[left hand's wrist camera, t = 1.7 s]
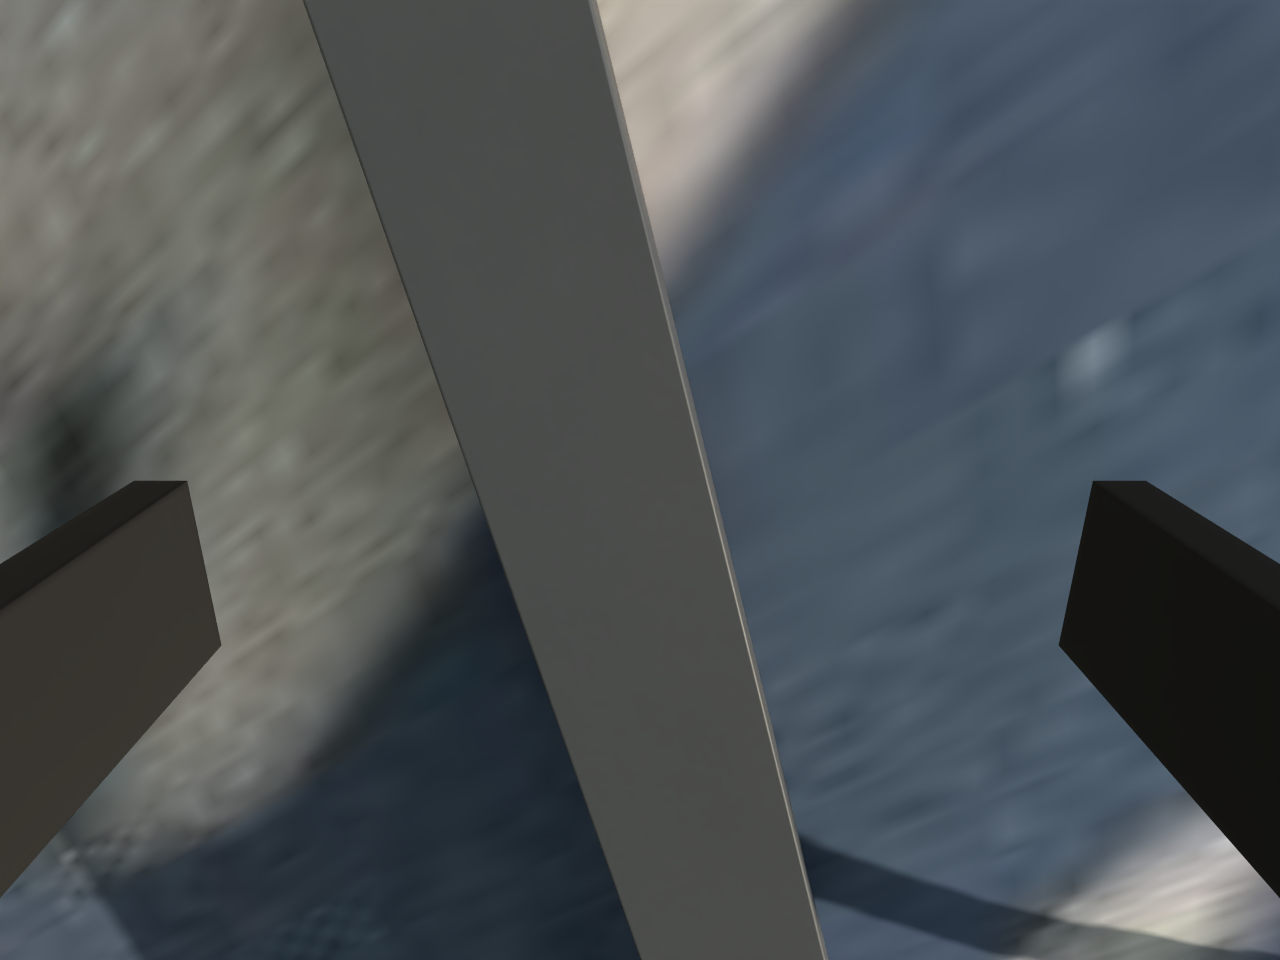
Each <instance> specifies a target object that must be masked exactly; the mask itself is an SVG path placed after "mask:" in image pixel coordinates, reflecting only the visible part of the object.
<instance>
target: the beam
mask: <svg viewBox="0 0 1280 960" xmlns="http://www.w3.org/2000/svg"><path fill="white" fill-rule="evenodd" d="M303 2H304V5H305V8H306V10H307V13H308V16H309V19H310V22H311V25H312V27H313V30H314V33H315V36H316V39H317V42H318V44H319V47H320V50H321V53H322V56H323V59H324V62H325V64H326V67H327V70H328V73H329V76H330V79H331V81H332V84H333V87H334V90H335V93H336V96H337V98H338V101H339V104H340V107H341V110H342V113H343V115H344V118H345V121H346V124H347V127H348V130H349V133H350V135H351V138H352V141H353V144H354V147H355V150H356V152H357V155H358V158H359V161H360V164H361V167H362V169H363V172H364V175H365V178H366V181H367V184H368V186H369V189H370V192H371V195H372V198H373V201H374V204H375V206H376V209H377V212H378V215H379V218H380V221H381V223H382V226H383V229H384V232H385V235H386V238H387V240H388V243H389V246H390V249H391V252H392V255H393V257H394V260H395V263H396V266H397V269H398V272H399V275H400V277H401V280H402V283H403V286H404V289H405V292H406V294H407V297H408V300H409V303H410V306H411V309H412V311H413V314H414V317H415V320H416V323H417V326H418V328H419V331H420V334H421V337H422V340H423V343H424V346H425V348H426V351H427V354H428V357H429V360H430V363H431V365H432V368H433V371H434V374H435V377H436V380H437V382H438V385H439V388H440V391H441V394H442V397H443V399H444V402H445V405H446V408H447V411H448V414H449V417H450V419H451V422H452V425H453V428H454V431H455V434H456V436H457V439H458V442H459V445H460V448H461V451H462V453H463V456H464V459H465V462H466V465H467V468H468V470H469V473H470V476H471V479H472V482H473V485H474V487H475V490H476V493H477V496H478V499H479V502H480V505H481V507H482V510H483V513H484V516H485V519H486V522H487V524H488V527H489V530H490V533H491V536H492V539H493V541H494V544H495V547H496V550H497V553H498V556H499V558H500V561H501V564H502V567H503V570H504V573H505V576H506V578H507V581H508V584H509V587H510V590H511V593H512V595H513V598H514V601H515V604H516V607H517V610H518V612H519V615H520V618H521V621H522V624H523V627H524V629H525V632H526V635H527V638H528V641H529V644H530V647H531V649H532V652H533V655H534V658H535V661H536V664H537V666H538V669H539V672H540V675H541V678H542V681H543V683H544V686H545V689H546V692H547V695H548V698H549V700H550V703H551V706H552V709H553V712H554V715H555V718H556V720H557V723H558V726H559V729H560V732H561V735H562V737H563V740H564V743H565V746H566V749H567V752H568V754H569V757H570V760H571V763H572V766H573V769H574V771H575V774H576V777H577V780H578V783H579V786H580V789H581V791H582V794H583V797H584V800H585V803H586V806H587V808H588V811H589V814H590V817H591V820H592V823H593V825H594V828H595V831H596V834H597V837H598V840H599V842H600V845H601V848H602V851H603V854H604V857H605V860H606V862H607V865H608V868H609V871H610V874H611V877H612V879H613V882H614V885H615V888H616V891H617V894H618V896H619V899H620V902H621V905H622V908H623V911H624V913H625V916H626V919H627V922H628V925H629V928H630V931H631V933H632V936H633V939H634V942H635V945H636V948H637V950H638V953H639V956H640V959H641V960H829V959H828V955H827V951H826V947H825V943H824V939H823V935H822V930H821V926H820V922H819V918H818V914H817V910H816V906H815V902H814V897H813V893H812V889H811V885H810V881H809V877H808V873H807V869H806V864H805V860H804V856H803V852H802V848H801V844H800V840H799V836H798V831H797V827H796V823H795V819H794V815H793V811H792V807H791V802H790V798H789V794H788V790H787V786H786V782H785V778H784V774H783V769H782V765H781V761H780V757H779V753H778V749H777V745H776V741H775V736H774V732H773V728H772V724H771V720H770V716H769V712H768V707H767V703H766V699H765V695H764V691H763V687H762V683H761V679H760V674H759V670H758V666H757V662H756V658H755V654H754V650H753V646H752V641H751V637H750V633H749V629H748V625H747V621H746V617H745V613H744V608H743V604H742V600H741V596H740V592H739V588H738V584H737V579H736V575H735V571H734V567H733V563H732V559H731V555H730V551H729V546H728V542H727V538H726V534H725V530H724V526H723V522H722V518H721V513H720V509H719V505H718V501H717V497H716V493H715V489H714V484H713V480H712V476H711V472H710V468H709V464H708V460H707V456H706V451H705V447H704V443H703V439H702V435H701V431H700V427H699V423H698V418H697V414H696V410H695V406H694V402H693V398H692V394H691V390H690V385H689V381H688V377H687V373H686V369H685V365H684V361H683V356H682V352H681V348H680V344H679V340H678V336H677V332H676V328H675V323H674V319H673V315H672V311H671V307H670V303H669V299H668V295H667V290H666V286H665V282H664V278H663V274H662V270H661V266H660V261H659V257H658V253H657V249H656V245H655V241H654V237H653V233H652V228H651V224H650V220H649V216H648V212H647V208H646V204H645V200H644V195H643V191H642V187H641V183H640V179H639V175H638V171H637V166H636V162H635V158H634V154H633V150H632V146H631V142H630V138H629V133H628V129H627V125H626V121H625V117H624V113H623V109H622V105H621V100H620V96H619V92H618V88H617V84H616V80H615V76H614V72H613V67H612V63H611V59H610V55H609V51H608V47H607V43H606V38H605V34H604V30H603V26H602V22H601V18H600V14H599V10H598V5H597V1H596V0H303Z"/></svg>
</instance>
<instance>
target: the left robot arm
mask: <svg viewBox="0 0 1280 960" xmlns="http://www.w3.org/2000/svg"><path fill="white" fill-rule="evenodd" d="M220 646H221V642H220V637H219V632H218V627H217V623H216V618H215V613H214V608H213V603H212V599H211V594H210V589H209V584H208V579H207V574H206V570H205V565H204V560H203V555H202V550H201V546H200V541H199V536H198V531H197V526H196V522H195V517H194V512H193V507H192V502H191V498H190V493H189V488H188V483H187V481H133V482H132V483H130V484H128V485H127V486H125V487H124V488H122V489H120V490H119V491H117V492H115V493H114V494H112V495H111V496H109V497H107V498H106V499H104V500H103V501H101V502H99V503H98V504H96V505H95V506H93V507H91V508H90V509H88V510H87V511H85V512H83V513H82V514H80V515H78V516H77V517H75V518H74V519H72V520H70V521H69V522H67V523H66V524H64V525H62V526H61V527H59V528H58V529H56V530H54V531H53V532H51V533H49V534H48V535H46V536H45V537H43V538H41V539H40V540H38V541H37V542H35V543H33V544H32V545H30V546H29V547H27V548H25V549H24V550H22V551H21V552H19V553H17V554H16V555H14V556H12V557H11V558H9V559H8V560H6V561H4V562H3V563H1V564H0V898H1V897H2V895H3V894H4V893H5V892H6V891H7V890H8V889H9V887H10V886H11V885H12V884H13V883H14V882H15V881H16V879H17V878H18V877H19V876H20V875H21V874H22V873H23V871H24V870H25V869H26V868H27V867H28V866H29V865H30V863H31V862H32V861H33V860H34V859H35V858H36V857H37V855H38V854H39V853H40V852H41V851H42V850H43V849H44V847H45V846H46V845H47V844H48V843H49V842H50V841H51V839H52V838H53V837H54V836H55V835H56V834H57V833H58V831H59V830H60V829H61V828H62V827H63V826H64V825H65V823H66V822H67V821H68V820H69V819H70V818H71V817H72V815H73V814H74V813H75V812H76V811H77V810H78V808H79V807H80V806H81V805H82V804H83V803H84V802H85V800H86V799H87V798H88V797H89V796H90V795H91V794H92V792H93V791H94V790H95V789H96V788H97V787H98V786H99V784H100V783H101V782H102V781H103V780H104V779H105V778H106V776H107V775H108V774H109V773H110V772H111V771H112V770H113V768H114V767H115V766H116V765H117V764H118V763H119V762H120V760H121V759H122V758H123V757H124V756H125V755H126V754H127V752H128V751H129V750H130V749H131V748H132V747H133V746H134V744H135V743H136V742H137V741H138V740H139V739H140V738H141V736H142V735H143V734H144V733H145V732H146V731H147V730H148V728H149V727H150V726H151V725H152V724H153V723H154V722H155V720H156V719H157V718H158V717H159V716H160V715H161V714H162V712H163V711H164V710H165V709H166V708H167V707H168V706H169V704H170V703H171V702H172V701H173V700H174V699H175V698H176V696H177V695H178V694H179V693H180V692H181V691H182V690H183V688H184V687H185V686H186V685H187V684H188V683H189V682H190V680H191V679H192V678H193V677H194V676H195V675H196V674H197V672H198V671H199V670H200V669H201V668H202V667H203V666H204V664H205V663H206V662H207V661H208V660H209V659H210V658H211V656H212V655H213V654H214V653H215V652H216V651H217V650H218V648H219V647H220ZM1059 646H1060V647H1061V648H1062V650H1063V651H1064V652H1065V653H1066V654H1067V655H1068V656H1069V658H1070V659H1071V660H1072V661H1073V662H1074V663H1075V664H1076V666H1077V667H1078V668H1079V669H1080V670H1081V671H1082V672H1083V674H1084V675H1085V676H1086V677H1087V678H1088V679H1089V680H1090V682H1091V683H1092V684H1093V685H1094V686H1095V687H1096V688H1097V690H1098V691H1099V692H1100V693H1101V694H1102V695H1103V696H1104V698H1105V699H1106V700H1107V701H1108V702H1109V703H1110V704H1111V706H1112V707H1113V708H1114V709H1115V710H1116V711H1117V712H1118V714H1119V715H1120V716H1121V717H1122V718H1123V719H1124V720H1125V722H1126V723H1127V724H1128V725H1129V726H1130V727H1131V728H1132V730H1133V731H1134V732H1135V733H1136V734H1137V735H1138V736H1139V738H1140V739H1141V740H1142V741H1143V742H1144V743H1145V744H1146V746H1147V747H1148V748H1149V749H1150V750H1151V751H1152V752H1153V754H1154V755H1155V756H1156V757H1157V758H1158V759H1159V760H1160V762H1161V763H1162V764H1163V765H1164V766H1165V767H1166V768H1167V770H1168V771H1169V772H1170V773H1171V774H1172V775H1173V776H1174V778H1175V779H1176V780H1177V781H1178V782H1179V783H1180V784H1181V786H1182V787H1183V788H1184V789H1185V790H1186V791H1187V792H1188V794H1189V795H1190V796H1191V797H1192V798H1193V799H1194V800H1195V802H1196V803H1197V804H1198V805H1199V806H1200V807H1201V809H1202V810H1203V811H1204V812H1205V813H1206V814H1207V815H1208V817H1209V818H1210V819H1211V820H1212V821H1213V822H1214V823H1215V825H1216V826H1217V827H1218V828H1219V829H1220V830H1221V831H1222V833H1223V834H1224V835H1225V836H1226V837H1227V838H1228V839H1229V841H1230V842H1231V843H1232V844H1233V845H1234V846H1235V847H1236V849H1237V850H1238V851H1239V852H1240V853H1241V854H1242V855H1243V857H1244V858H1245V859H1246V860H1247V861H1248V862H1249V863H1250V865H1251V866H1252V867H1253V868H1254V869H1255V870H1256V871H1257V873H1258V874H1259V875H1260V876H1261V877H1262V878H1263V879H1264V881H1265V882H1266V883H1267V884H1268V885H1269V886H1270V887H1271V889H1272V890H1273V891H1274V892H1275V893H1276V894H1277V895H1278V897H1279V898H1280V564H1279V563H1277V562H1276V561H1274V560H1272V559H1271V558H1269V557H1268V556H1266V555H1264V554H1263V553H1261V552H1259V551H1258V550H1256V549H1255V548H1253V547H1251V546H1250V545H1248V544H1247V543H1245V542H1243V541H1242V540H1240V539H1239V538H1237V537H1235V536H1234V535H1232V534H1231V533H1229V532H1227V531H1226V530H1224V529H1222V528H1221V527H1219V526H1218V525H1216V524H1214V523H1213V522H1211V521H1210V520H1208V519H1206V518H1205V517H1203V516H1202V515H1200V514H1198V513H1197V512H1195V511H1193V510H1192V509H1190V508H1189V507H1187V506H1185V505H1184V504H1182V503H1181V502H1179V501H1177V500H1176V499H1174V498H1173V497H1171V496H1169V495H1168V494H1166V493H1165V492H1163V491H1161V490H1160V489H1158V488H1156V487H1155V486H1153V485H1152V484H1150V483H1148V482H1147V481H1093V483H1092V488H1091V493H1090V498H1089V502H1088V507H1087V512H1086V517H1085V522H1084V526H1083V531H1082V536H1081V541H1080V546H1079V550H1078V555H1077V560H1076V565H1075V570H1074V574H1073V579H1072V584H1071V589H1070V594H1069V599H1068V603H1067V608H1066V613H1065V618H1064V623H1063V627H1062V632H1061V637H1060V642H1059Z"/></svg>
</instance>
